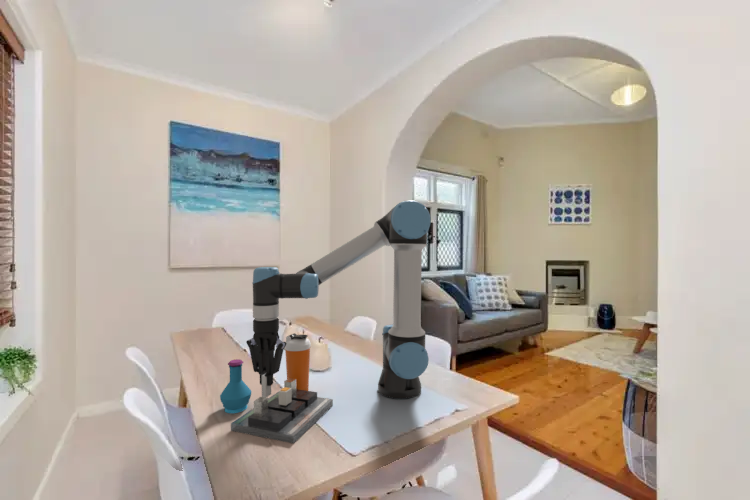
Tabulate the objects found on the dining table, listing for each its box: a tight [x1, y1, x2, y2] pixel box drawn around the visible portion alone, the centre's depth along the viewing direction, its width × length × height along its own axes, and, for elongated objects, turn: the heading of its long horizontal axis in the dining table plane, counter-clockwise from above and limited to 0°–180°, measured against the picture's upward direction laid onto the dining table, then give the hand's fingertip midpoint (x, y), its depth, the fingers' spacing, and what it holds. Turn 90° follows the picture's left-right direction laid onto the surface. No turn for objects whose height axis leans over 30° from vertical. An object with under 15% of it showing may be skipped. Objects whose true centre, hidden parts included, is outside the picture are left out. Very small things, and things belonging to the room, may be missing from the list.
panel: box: [230, 378, 334, 444], centre depth 107 cm, size 20×23×8 cm
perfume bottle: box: [219, 358, 252, 414], centre depth 113 cm, size 9×9×15 cm
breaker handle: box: [278, 386, 292, 406], centre depth 107 cm, size 2×3×4 cm
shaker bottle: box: [284, 332, 312, 391], centre depth 125 cm, size 9×9×20 cm
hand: (266, 395), depth 109 cm, fingers closed
